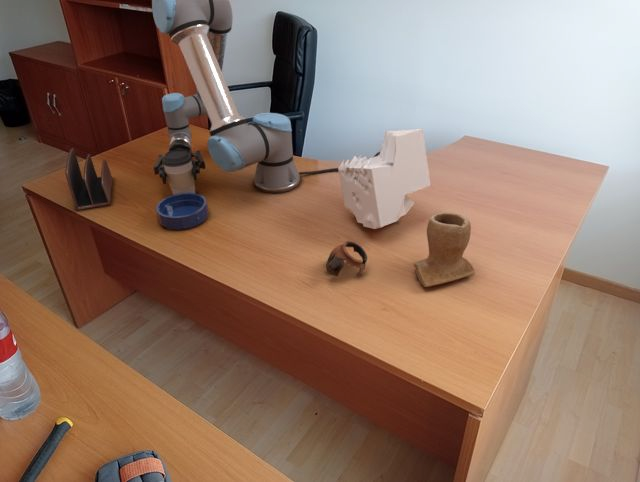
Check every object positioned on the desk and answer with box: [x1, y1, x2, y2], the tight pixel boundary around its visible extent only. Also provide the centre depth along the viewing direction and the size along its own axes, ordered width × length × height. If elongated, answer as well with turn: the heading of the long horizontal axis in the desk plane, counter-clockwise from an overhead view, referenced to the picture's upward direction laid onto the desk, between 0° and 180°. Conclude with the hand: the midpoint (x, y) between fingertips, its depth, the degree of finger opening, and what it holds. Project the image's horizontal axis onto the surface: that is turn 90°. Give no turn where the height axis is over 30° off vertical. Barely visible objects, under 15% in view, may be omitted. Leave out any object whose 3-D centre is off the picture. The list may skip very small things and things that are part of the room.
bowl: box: [155, 192, 210, 231], centre depth 145 cm, size 15×15×4 cm
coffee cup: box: [162, 148, 196, 195], centre depth 154 cm, size 9×9×15 cm
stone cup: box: [413, 212, 475, 288], centre depth 117 cm, size 15×12×15 cm
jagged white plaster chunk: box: [337, 128, 431, 230], centre depth 137 cm, size 20×16×25 cm
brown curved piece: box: [325, 240, 368, 277], centre depth 121 cm, size 12×10×8 cm
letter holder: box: [64, 147, 113, 211], centre depth 157 cm, size 10×20×14 cm, turn 17°
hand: (179, 178), depth 149 cm, fingers closed on coffee cup, 9 cm apart
